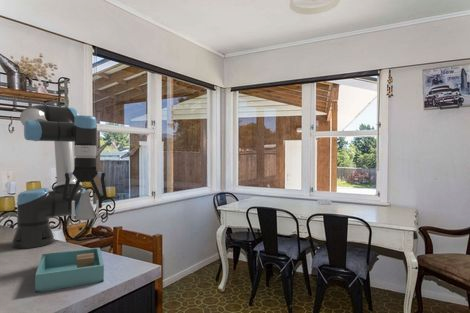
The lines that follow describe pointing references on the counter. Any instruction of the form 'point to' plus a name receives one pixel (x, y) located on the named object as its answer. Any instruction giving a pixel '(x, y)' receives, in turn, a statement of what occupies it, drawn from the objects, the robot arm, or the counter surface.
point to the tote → (67, 270)
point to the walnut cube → (85, 260)
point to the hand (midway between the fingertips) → (85, 217)
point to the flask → (85, 208)
